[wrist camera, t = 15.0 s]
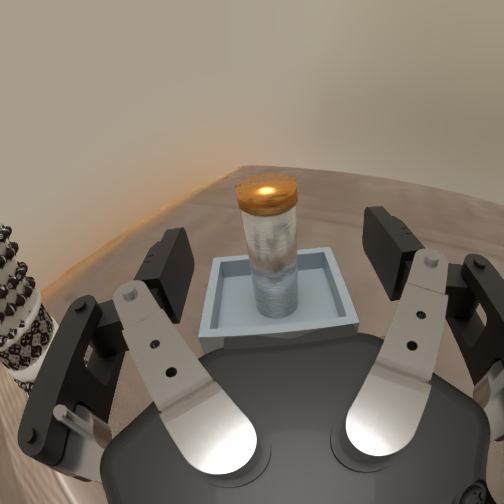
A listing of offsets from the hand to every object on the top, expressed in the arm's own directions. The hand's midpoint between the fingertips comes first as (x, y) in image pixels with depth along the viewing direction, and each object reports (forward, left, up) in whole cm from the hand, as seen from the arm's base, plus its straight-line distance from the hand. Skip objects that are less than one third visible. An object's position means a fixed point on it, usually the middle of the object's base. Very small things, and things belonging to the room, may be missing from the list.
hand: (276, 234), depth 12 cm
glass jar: (0, -12, -16) cm, 20 cm away
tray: (0, -12, -17) cm, 21 cm away
